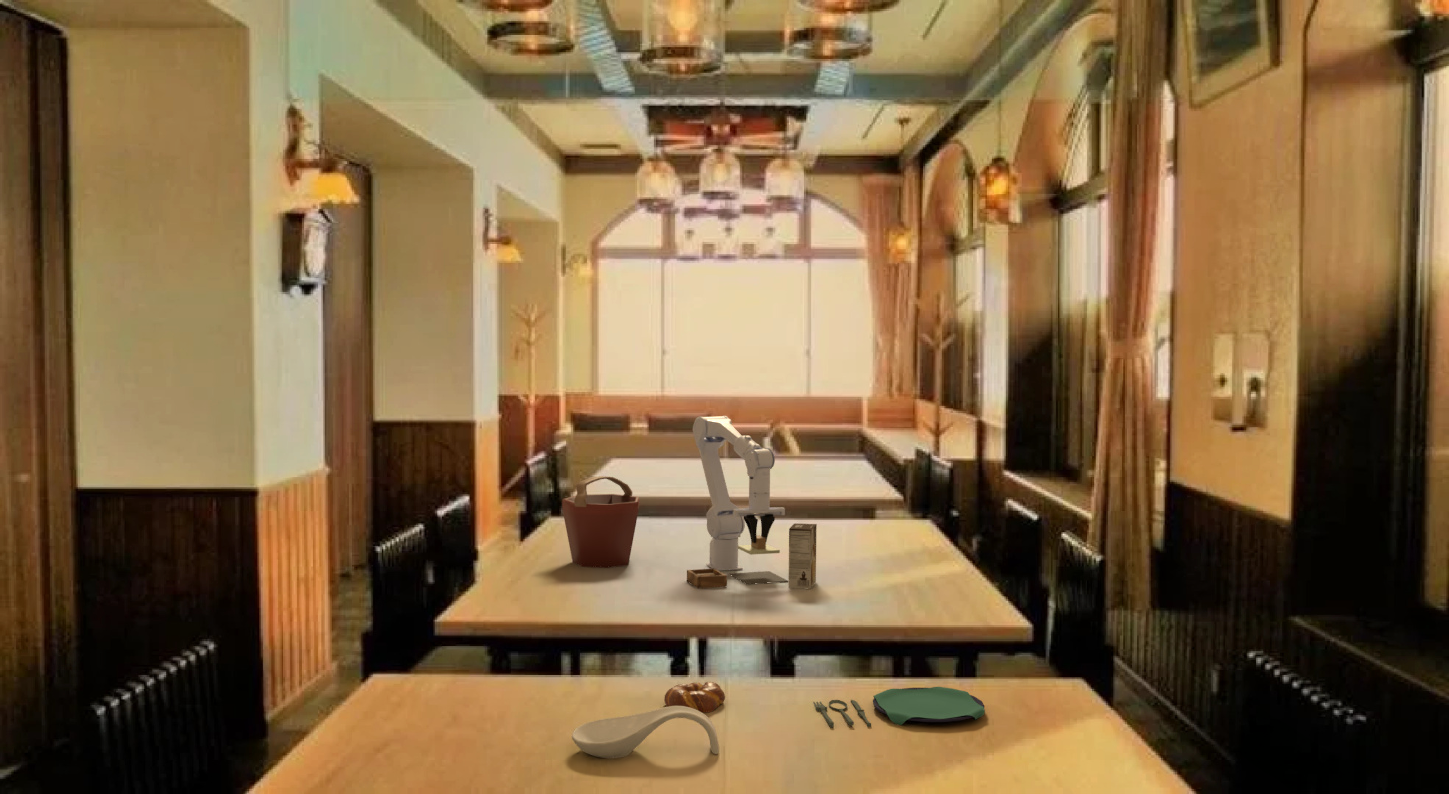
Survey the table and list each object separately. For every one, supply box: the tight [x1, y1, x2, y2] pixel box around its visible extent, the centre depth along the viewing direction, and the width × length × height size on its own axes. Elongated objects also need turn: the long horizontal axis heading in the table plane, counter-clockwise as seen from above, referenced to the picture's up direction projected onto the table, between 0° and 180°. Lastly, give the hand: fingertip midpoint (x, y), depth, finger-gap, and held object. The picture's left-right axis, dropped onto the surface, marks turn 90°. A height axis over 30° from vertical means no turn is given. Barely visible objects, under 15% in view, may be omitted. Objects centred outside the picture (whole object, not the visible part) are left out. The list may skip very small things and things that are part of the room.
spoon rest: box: [571, 706, 720, 759], centre depth 197 cm, size 24×12×7 cm, turn 95°
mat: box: [728, 570, 789, 585], centre depth 336 cm, size 14×12×1 cm
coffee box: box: [788, 523, 818, 590], centre depth 327 cm, size 9×6×16 cm
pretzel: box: [663, 681, 726, 714], centre depth 222 cm, size 12×11×4 cm
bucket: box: [561, 475, 640, 569], centre depth 356 cm, size 24×22×25 cm
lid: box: [738, 534, 780, 555], centre depth 336 cm, size 10×8×4 cm
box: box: [686, 568, 728, 589], centre depth 328 cm, size 10×8×3 cm
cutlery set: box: [812, 686, 986, 728], centre depth 219 cm, size 20×30×2 cm, turn 96°
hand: (758, 542), depth 335 cm, fingers closed on lid, 2 cm apart
